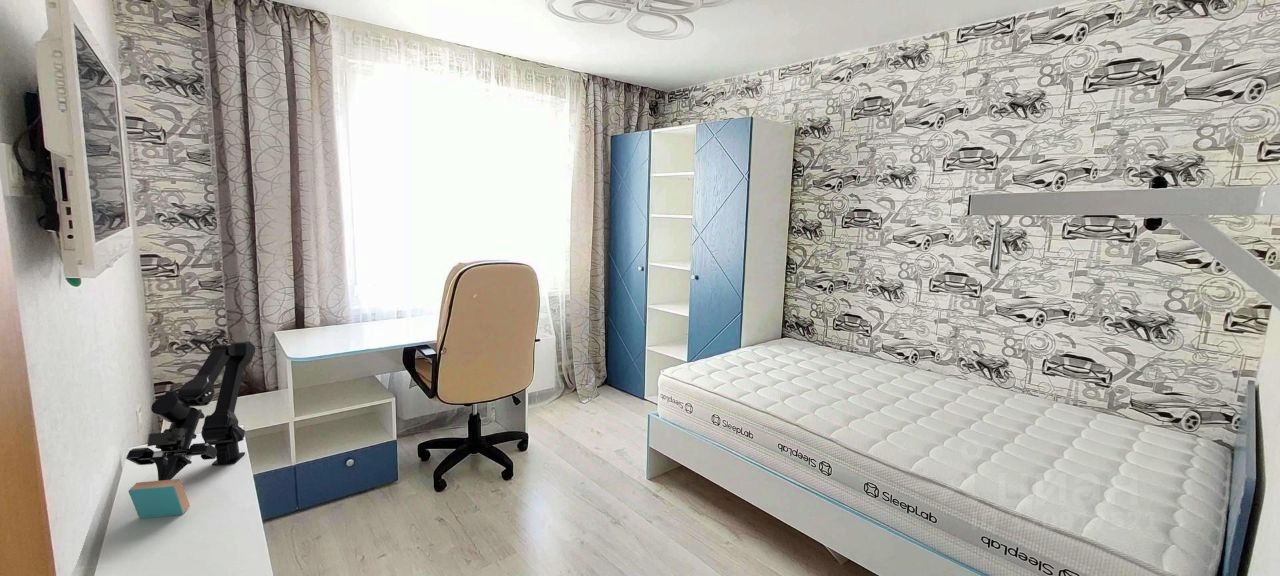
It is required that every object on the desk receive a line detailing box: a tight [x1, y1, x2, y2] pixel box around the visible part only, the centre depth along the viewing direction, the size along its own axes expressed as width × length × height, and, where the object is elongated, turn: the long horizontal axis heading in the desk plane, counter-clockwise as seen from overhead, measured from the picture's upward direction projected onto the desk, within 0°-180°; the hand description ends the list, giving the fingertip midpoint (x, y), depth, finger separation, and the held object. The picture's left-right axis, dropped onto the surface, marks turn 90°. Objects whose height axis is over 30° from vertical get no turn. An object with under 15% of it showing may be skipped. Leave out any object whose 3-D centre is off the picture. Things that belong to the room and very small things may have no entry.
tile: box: [128, 478, 191, 519], centre depth 139 cm, size 3×10×9 cm, turn 100°
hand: (161, 486), depth 139 cm, fingers closed
